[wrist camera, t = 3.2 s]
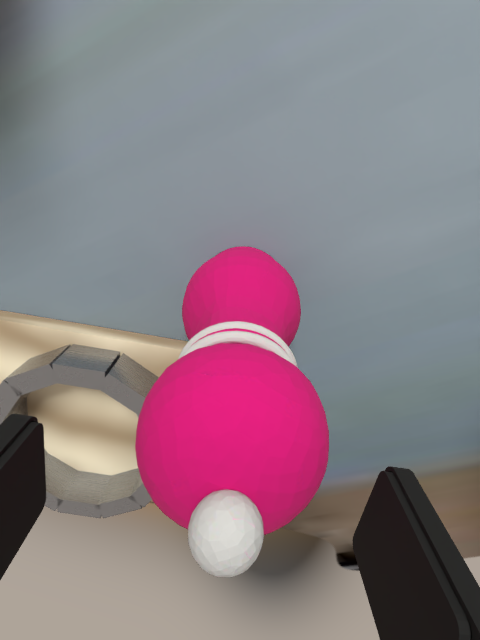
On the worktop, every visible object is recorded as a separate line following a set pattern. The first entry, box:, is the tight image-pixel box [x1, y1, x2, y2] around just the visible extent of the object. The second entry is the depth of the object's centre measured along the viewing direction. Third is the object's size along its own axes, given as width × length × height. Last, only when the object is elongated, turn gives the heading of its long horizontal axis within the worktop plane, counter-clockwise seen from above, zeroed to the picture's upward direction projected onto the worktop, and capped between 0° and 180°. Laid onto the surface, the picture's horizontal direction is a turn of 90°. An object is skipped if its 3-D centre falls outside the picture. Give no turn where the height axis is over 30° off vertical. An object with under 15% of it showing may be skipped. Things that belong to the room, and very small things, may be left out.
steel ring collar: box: [0, 344, 159, 518], centre depth 28 cm, size 14×14×3 cm
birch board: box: [0, 310, 188, 502], centre depth 30 cm, size 16×16×2 cm
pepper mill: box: [135, 247, 329, 578], centre depth 17 cm, size 7×7×20 cm
